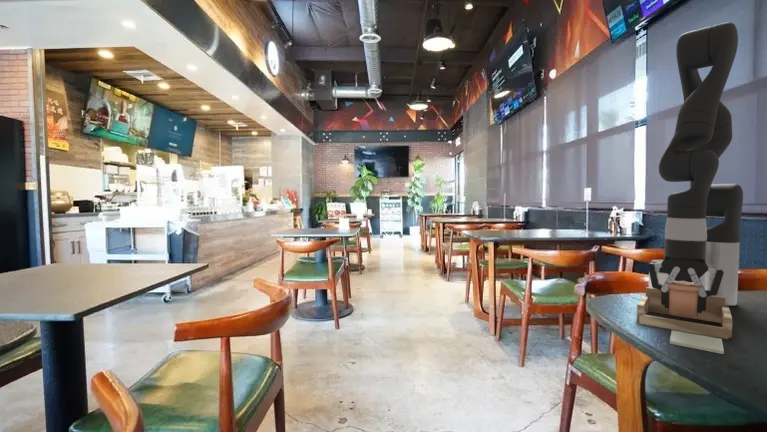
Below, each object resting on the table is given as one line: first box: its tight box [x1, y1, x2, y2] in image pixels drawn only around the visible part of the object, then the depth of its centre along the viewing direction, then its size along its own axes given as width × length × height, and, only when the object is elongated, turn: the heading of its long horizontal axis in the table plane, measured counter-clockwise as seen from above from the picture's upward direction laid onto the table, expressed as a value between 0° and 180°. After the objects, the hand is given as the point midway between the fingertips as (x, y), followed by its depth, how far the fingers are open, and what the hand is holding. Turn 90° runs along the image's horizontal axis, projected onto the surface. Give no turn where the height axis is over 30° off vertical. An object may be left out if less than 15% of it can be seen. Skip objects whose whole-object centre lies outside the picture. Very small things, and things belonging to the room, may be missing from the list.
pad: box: [669, 329, 725, 355], centre depth 75 cm, size 8×8×1 cm
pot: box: [668, 281, 700, 319], centre depth 88 cm, size 6×6×7 cm
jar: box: [648, 259, 690, 290], centre depth 102 cm, size 9×8×12 cm
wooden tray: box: [636, 286, 733, 340], centre depth 88 cm, size 14×16×6 cm
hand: (682, 309), depth 88 cm, fingers closed on pot, 5 cm apart
